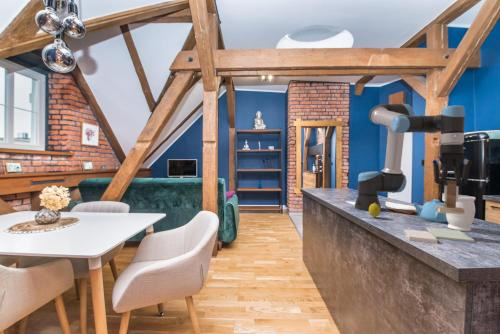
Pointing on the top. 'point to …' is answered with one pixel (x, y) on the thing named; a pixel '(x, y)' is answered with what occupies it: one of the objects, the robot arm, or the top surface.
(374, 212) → the lemon
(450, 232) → the tool mat
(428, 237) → the tile
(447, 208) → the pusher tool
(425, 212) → the teapot
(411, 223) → the top surface
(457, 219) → the jar
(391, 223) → the top surface
